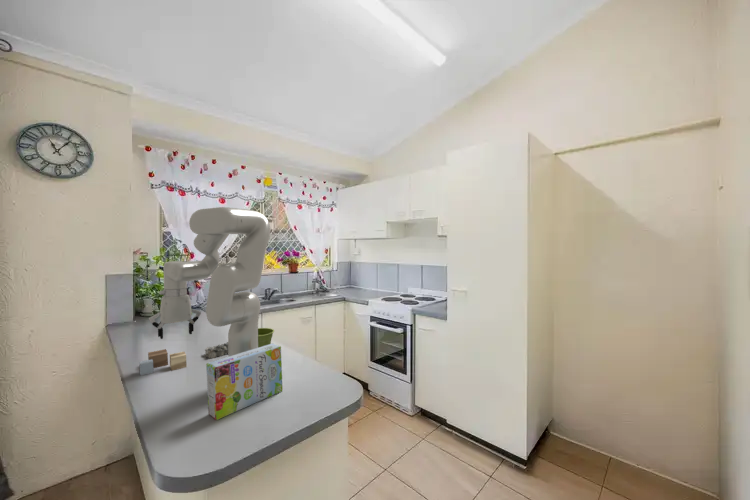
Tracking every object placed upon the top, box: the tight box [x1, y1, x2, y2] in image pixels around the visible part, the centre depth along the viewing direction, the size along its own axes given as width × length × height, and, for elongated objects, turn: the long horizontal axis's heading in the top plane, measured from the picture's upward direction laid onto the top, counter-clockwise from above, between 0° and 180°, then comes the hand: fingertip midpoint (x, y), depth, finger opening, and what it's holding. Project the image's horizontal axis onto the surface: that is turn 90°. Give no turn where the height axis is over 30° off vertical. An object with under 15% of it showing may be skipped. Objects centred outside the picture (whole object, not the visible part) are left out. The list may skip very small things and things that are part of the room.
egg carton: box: [204, 341, 229, 359], centre depth 136 cm, size 11×8×4 cm
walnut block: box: [147, 348, 169, 369], centre depth 125 cm, size 6×6×5 cm
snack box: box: [205, 343, 283, 421], centre depth 94 cm, size 21×6×15 cm, turn 141°
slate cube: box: [139, 359, 154, 376], centre depth 118 cm, size 4×4×4 cm
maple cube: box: [169, 351, 188, 371], centre depth 122 cm, size 5×5×5 cm
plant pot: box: [258, 327, 275, 348], centre depth 130 cm, size 12×12×11 cm
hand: (176, 335), depth 122 cm, fingers open, 9 cm apart
